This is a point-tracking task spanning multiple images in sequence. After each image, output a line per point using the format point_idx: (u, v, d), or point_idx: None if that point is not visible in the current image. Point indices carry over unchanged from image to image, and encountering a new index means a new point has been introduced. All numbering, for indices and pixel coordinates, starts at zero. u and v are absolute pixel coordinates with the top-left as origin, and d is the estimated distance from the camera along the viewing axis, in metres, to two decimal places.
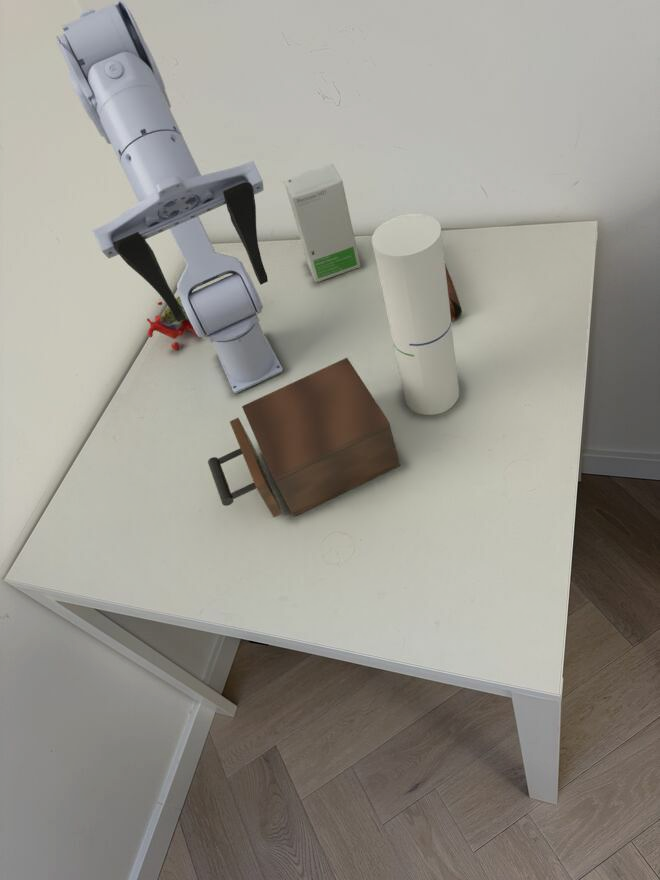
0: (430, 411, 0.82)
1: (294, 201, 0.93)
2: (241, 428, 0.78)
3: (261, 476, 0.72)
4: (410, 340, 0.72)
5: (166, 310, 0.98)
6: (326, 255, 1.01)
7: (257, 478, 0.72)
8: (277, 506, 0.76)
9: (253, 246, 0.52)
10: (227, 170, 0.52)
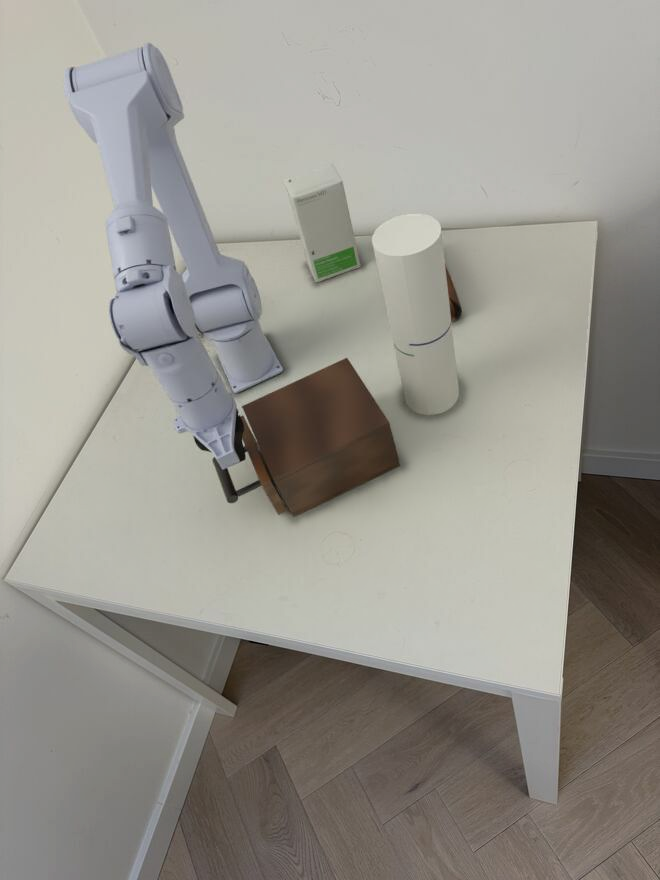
0: (430, 411, 0.82)
1: (294, 201, 0.93)
2: (246, 426, 0.78)
3: (266, 474, 0.72)
4: (410, 340, 0.72)
5: None
6: (326, 255, 1.01)
7: (262, 476, 0.72)
8: (282, 504, 0.76)
9: None
10: (206, 446, 0.66)
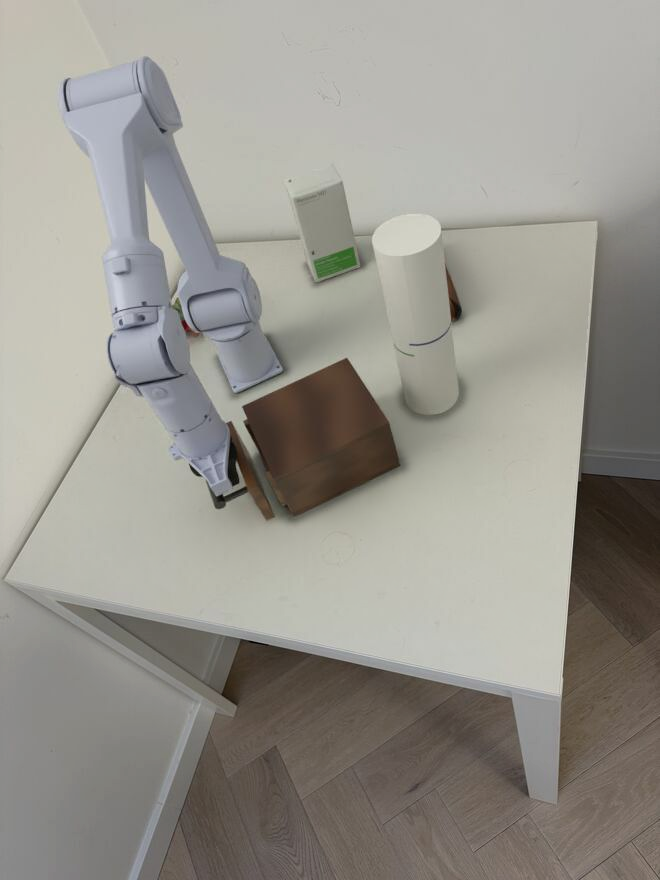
0: (430, 411, 0.82)
1: (294, 201, 0.93)
2: (234, 431, 0.78)
3: (253, 480, 0.72)
4: (410, 340, 0.72)
5: None
6: (326, 255, 1.01)
7: (249, 482, 0.72)
8: (270, 510, 0.76)
9: None
10: (201, 473, 0.68)
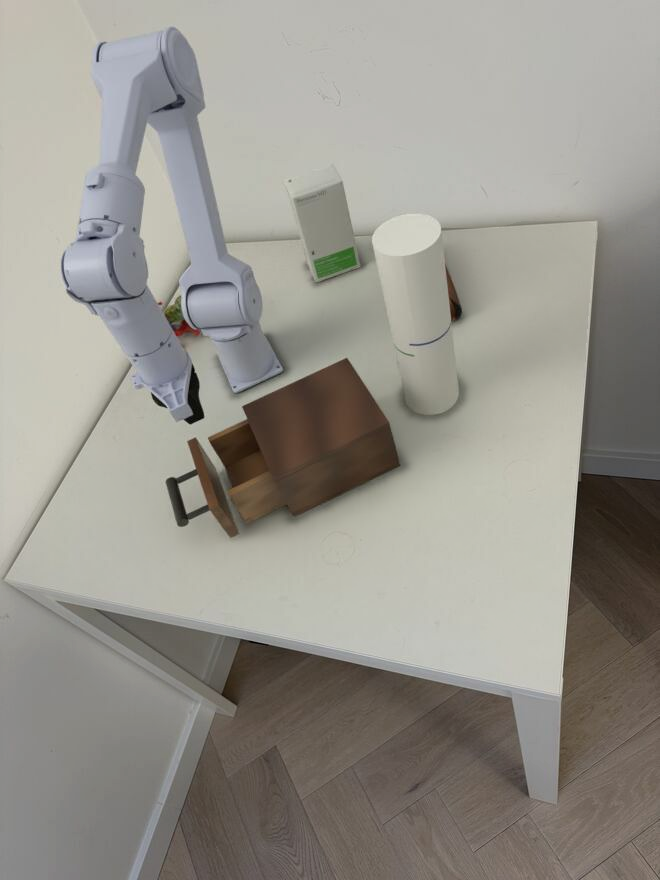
0: (430, 411, 0.82)
1: (294, 201, 0.93)
2: (198, 448, 0.77)
3: (215, 498, 0.72)
4: (410, 340, 0.72)
5: (166, 310, 0.98)
6: (326, 255, 1.01)
7: (210, 500, 0.72)
8: (233, 527, 0.75)
9: None
10: (161, 399, 0.68)
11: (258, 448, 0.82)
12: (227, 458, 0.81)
